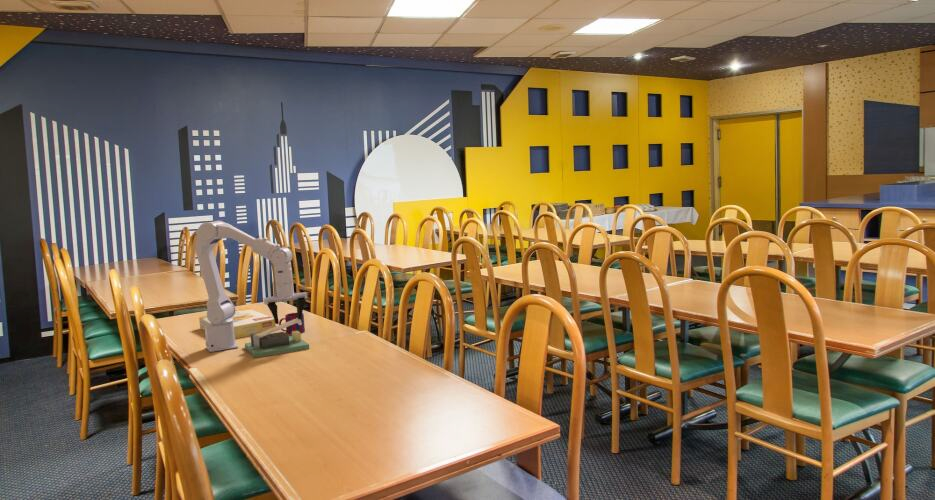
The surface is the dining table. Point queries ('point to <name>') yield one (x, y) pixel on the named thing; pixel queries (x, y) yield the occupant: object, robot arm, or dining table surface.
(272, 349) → the circuit board
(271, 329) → the beige long bar
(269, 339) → the dark and beige blocks
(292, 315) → the mug
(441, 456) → the dining table surface
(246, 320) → the cereal box
